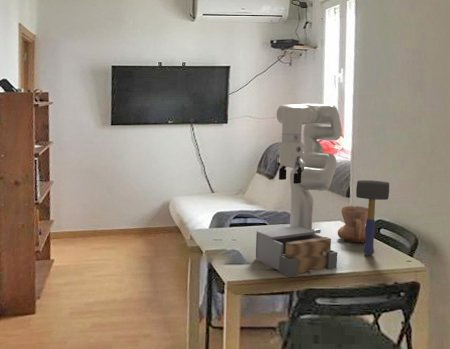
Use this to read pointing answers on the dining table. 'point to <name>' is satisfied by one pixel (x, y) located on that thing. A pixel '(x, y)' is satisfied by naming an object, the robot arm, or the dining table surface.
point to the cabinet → (276, 248)
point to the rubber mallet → (371, 206)
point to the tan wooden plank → (309, 253)
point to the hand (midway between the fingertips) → (289, 181)
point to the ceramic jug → (353, 223)
